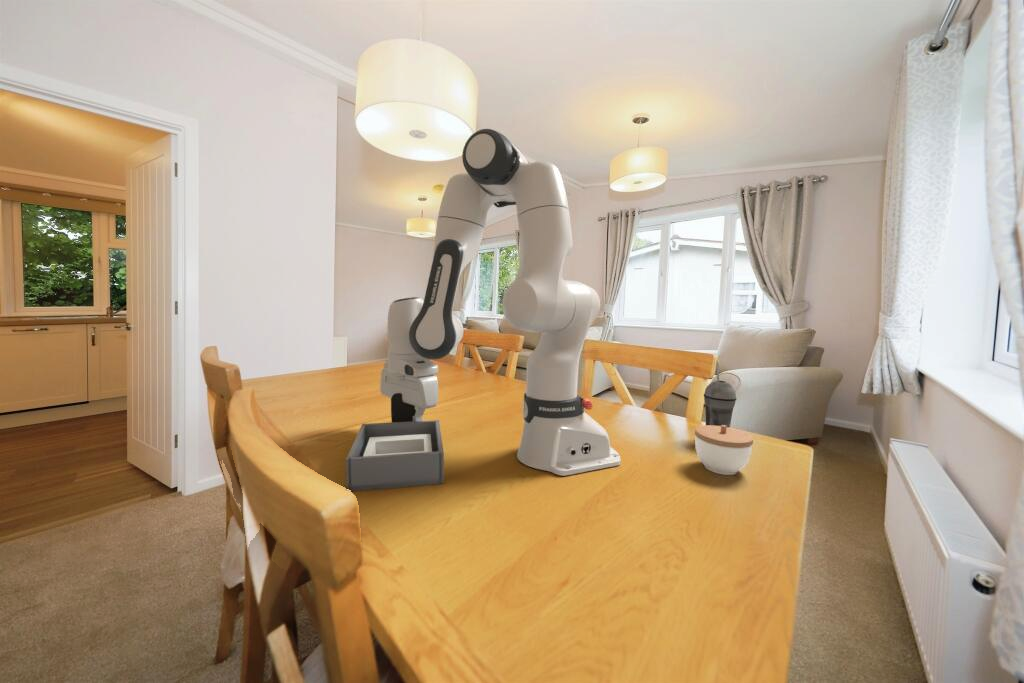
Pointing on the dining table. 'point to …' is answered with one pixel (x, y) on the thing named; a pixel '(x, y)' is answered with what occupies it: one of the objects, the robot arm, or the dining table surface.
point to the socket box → (396, 456)
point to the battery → (401, 409)
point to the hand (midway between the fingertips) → (407, 418)
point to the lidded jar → (723, 448)
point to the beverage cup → (719, 402)
